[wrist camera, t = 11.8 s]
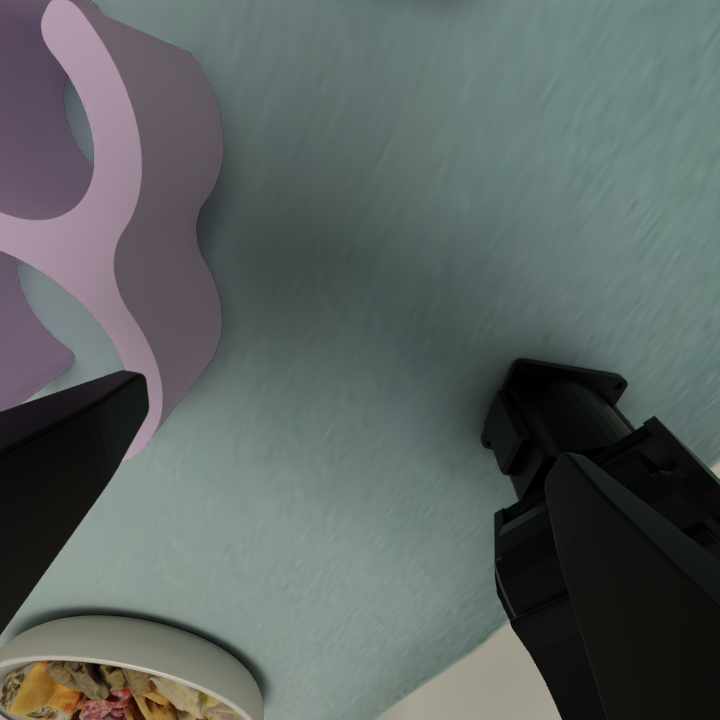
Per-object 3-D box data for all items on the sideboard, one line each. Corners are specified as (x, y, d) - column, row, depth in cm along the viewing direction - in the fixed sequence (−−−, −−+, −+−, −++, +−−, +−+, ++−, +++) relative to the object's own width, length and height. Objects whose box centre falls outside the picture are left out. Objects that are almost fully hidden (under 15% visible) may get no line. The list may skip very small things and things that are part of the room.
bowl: (33, 563, 36) (-49, 664, 29) (315, 658, 43) (303, 758, 36) (1, 674, 49) (-60, 760, 43) (219, 733, 56) (196, 815, 49)
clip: (-26, -61, 14) (-321, -201, 8) (290, 104, 16) (236, 87, 10) (-3, 358, 24) (-132, 432, 18) (194, 428, 26) (137, 515, 20)
